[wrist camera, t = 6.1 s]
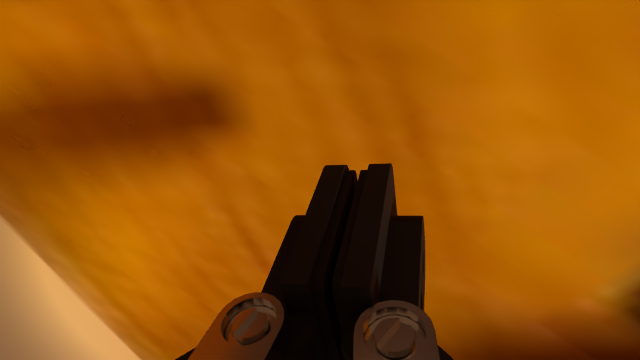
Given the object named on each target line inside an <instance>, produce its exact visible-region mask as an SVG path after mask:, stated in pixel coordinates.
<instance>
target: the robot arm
mask: <svg viewBox="0 0 640 360" xmlns="http://www.w3.org/2000/svg"><path fill="white" fill-rule="evenodd" d="M424 294H425V235H424V219H423V216H397V207H396V197H395V187H394V176H393V167H392V164H391V163H390V164H369V166H368V170H361V171H360V175H359V178H358V181H357V175H356V171H355V170H349V168H348V166H347V165H326V166H325V167H324V168H323V171H322V174H321V176H320V179H319V181H318V184H317V186H316V189H315V192H314V194H313V197H312V199H311V202H310V204H309V207H308V210H307V212H306V215H296V216H295V217H293V219H292V221H291V223H290V226H289V228H288V230H287V233H286V235H285V237H284V240H283V242H282V244H281V247H280V249H279V252H278V254H277V256H276V259H275V261H274V263H273V266H272V268H271V271H270V273H269V275H268V278H267V280H266V282H265V285H264V287H263V290H262V292H261V293H258V292H255V293H250V294H245V295H243V296H240V297H238V298H236V299H234V300H233V301H231V302H230V303H229V304H227V305H226V306H225V307H224V308H223V309H222V311H221V312H220V313H219V314H218V316H217V317H216V319H215V320H214V321H213V323H212V324H211V326H210V327H209V329H208V330H207V332H206V333H205V335H204V336H203V338H202V339H201V341H200V342H199V344H198V345H197V347H196V348H194V349H192V350H191V351H189V352H187V353H186V354H184V355H182V356H181V357H179V358H177V359H175V360H453V359H452V358H451V357H450V356H449V355H448V354H447V353H446V352H445V351H444V350H443V349H441V348H440V347H439V346H438V345H437V340H436V334H435V329H434V327H433V324H432V321H431V319H430V318H429V317H428V315H427V314H426V313H425V312H424Z"/></svg>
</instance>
